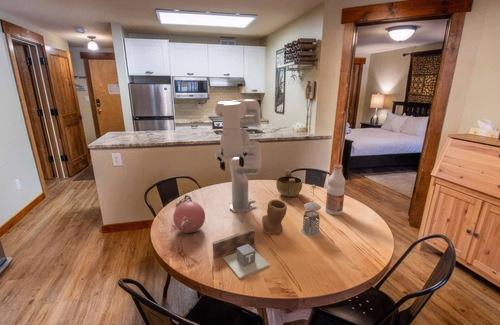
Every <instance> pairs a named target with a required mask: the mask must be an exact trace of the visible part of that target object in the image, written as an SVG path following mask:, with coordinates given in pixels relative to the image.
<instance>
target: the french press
mask: <svg viewBox="0 0 500 325" xmlns="http://www.w3.org/2000/svg"><path fill="white" fill-rule="evenodd" d="M311 188H313V191H312V192H313V193H312V194H313V195H312V196H314V195H315V194H314V191H315V188H317V186H316V184H312V185H311ZM303 208H304V209H305V210H306V211H304V213H303V220H302V227H301V228H300V232H301V233H302V235H305V236H307V237H309V238H312V237H313V238H315V237H318V236H320V234H322V233H321V230H320V220H321V219H320V213H319V212H318V211H320V210H321V209H322V206H321V205H320V204H319V203H317V202H314V201H310V202H307V203H304V205H303Z"/></svg>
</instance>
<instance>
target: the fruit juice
mask: <svg viewBox="0 0 500 325" xmlns="http://www.w3.org/2000/svg"><path fill="white" fill-rule="evenodd" d="M332 166H333V171H332V173H331V174H330V175H329V176H328V180H327V182H328V185H327V189H326V196H325V197H326V198H325V199H326V200H325V209H324V210H325V212H326V213H327V214H329V215H332V216H333V215H334V216H339V215H342V213H343V209H344V208H343V207H344V199H345V192H346V191H345V186H346V178H345V177H344V174H343V168H344V167H343V166H344V165H343V164H338V163H337V164H333V165H332Z"/></svg>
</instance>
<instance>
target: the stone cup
mask: <svg viewBox="0 0 500 325" xmlns="http://www.w3.org/2000/svg"><path fill="white" fill-rule="evenodd" d="M287 208H288V206H287V204H286V203H285V202H284V201H282V200H279V199H272V200H269V201H268V204H267V209H266V214H267V215H263V216H262V217H261V222H262V223H261V226H262V229H263V232H264V233H266V234H269V235H278V234H281V233H282V232H283V225H282V222H283V220H284V218H285V217H286V214H287V210H288V209H287Z"/></svg>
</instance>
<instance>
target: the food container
mask: <svg viewBox="0 0 500 325" xmlns="http://www.w3.org/2000/svg"><path fill="white" fill-rule="evenodd" d="M188 201H192V202H193V199H192V197H191V196H190V195H187V194H185V195H184V197H183V198H181V199H180V200H179V202H178V203H177V202H176V203H175V208H177V207H178V206H179V205H180V204H182V203H184V202H188Z"/></svg>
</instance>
